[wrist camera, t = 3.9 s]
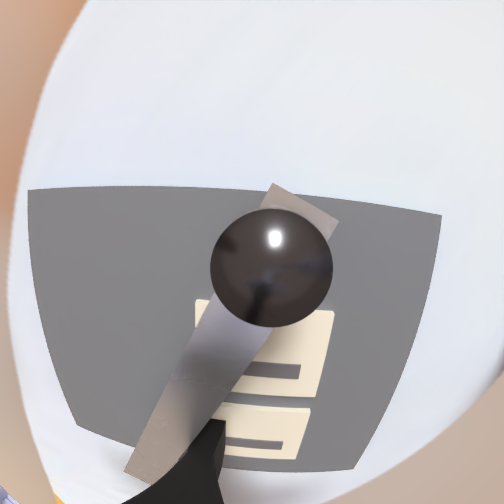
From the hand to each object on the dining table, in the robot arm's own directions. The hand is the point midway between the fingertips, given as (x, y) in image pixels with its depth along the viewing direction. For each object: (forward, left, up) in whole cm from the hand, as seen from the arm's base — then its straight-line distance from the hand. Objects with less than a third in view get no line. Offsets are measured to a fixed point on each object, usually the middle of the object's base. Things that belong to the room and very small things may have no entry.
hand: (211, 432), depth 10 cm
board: (+1, -2, -2) cm, 3 cm away
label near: (-2, -4, -2) cm, 5 cm away
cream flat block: (-2, +1, -2) cm, 3 cm away
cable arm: (0, -3, 0) cm, 3 cm away
